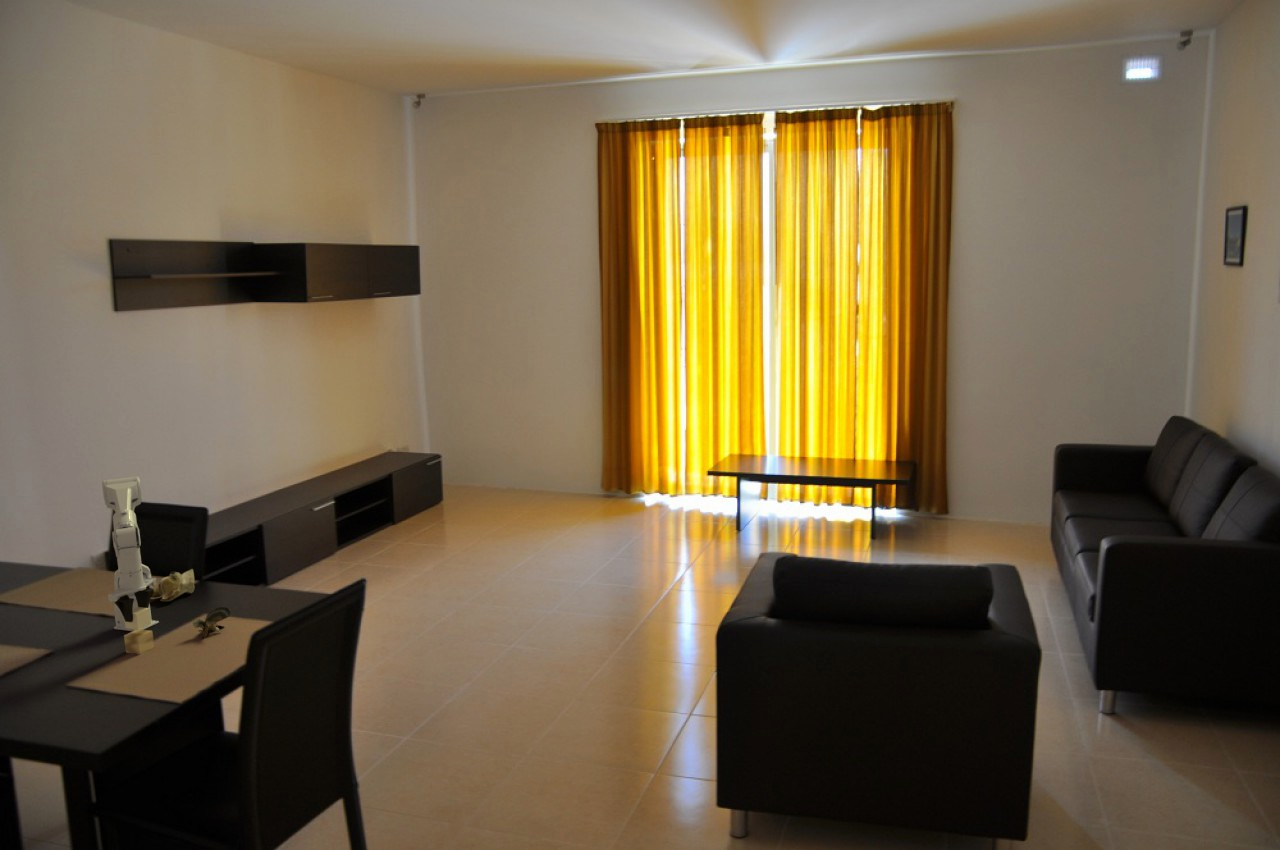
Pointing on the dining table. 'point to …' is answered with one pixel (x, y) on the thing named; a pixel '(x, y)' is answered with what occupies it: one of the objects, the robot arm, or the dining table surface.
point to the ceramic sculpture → (175, 585)
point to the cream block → (139, 618)
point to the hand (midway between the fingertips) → (136, 618)
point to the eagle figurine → (212, 620)
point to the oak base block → (139, 641)
